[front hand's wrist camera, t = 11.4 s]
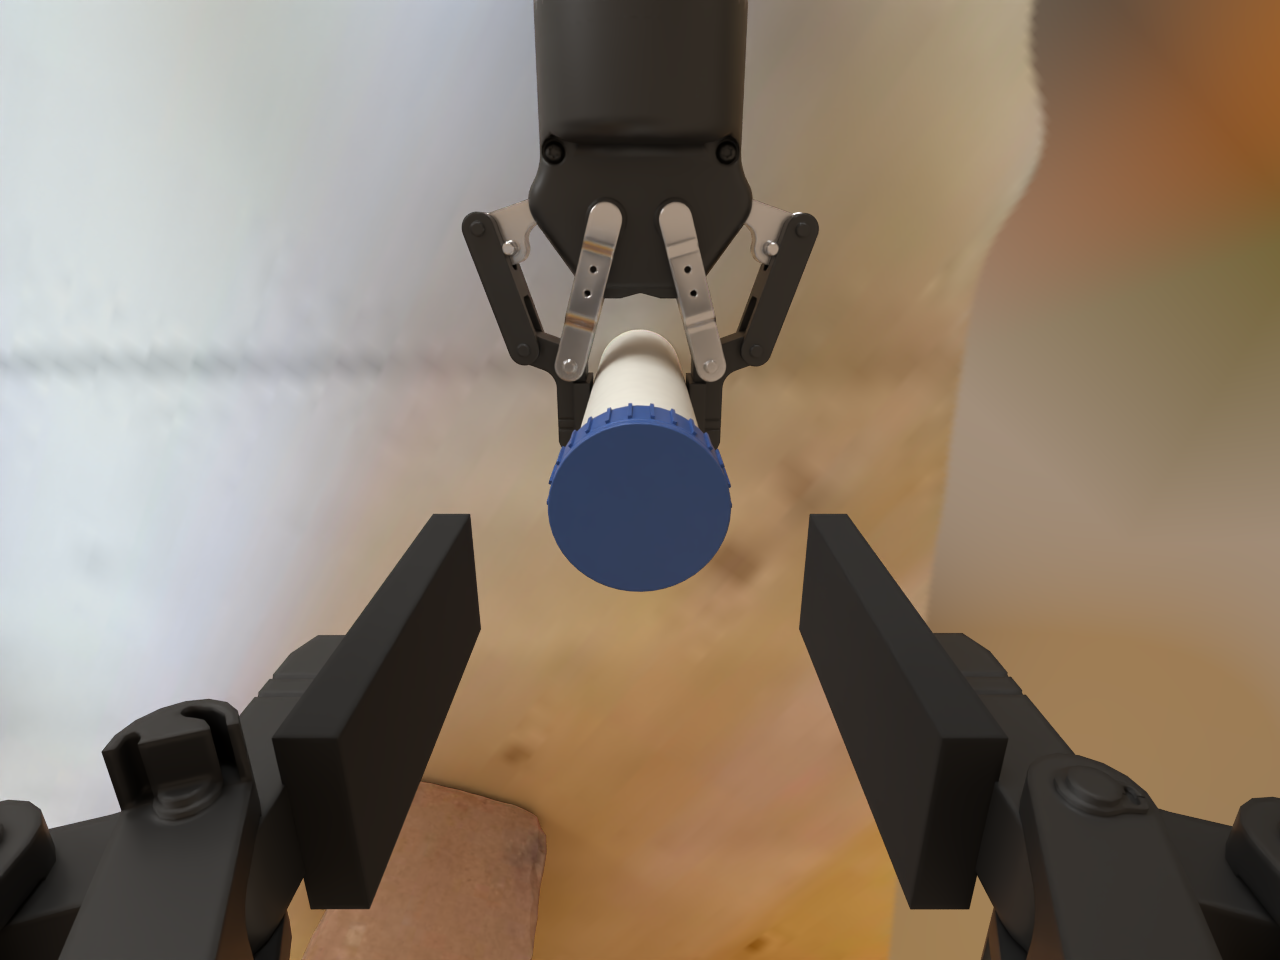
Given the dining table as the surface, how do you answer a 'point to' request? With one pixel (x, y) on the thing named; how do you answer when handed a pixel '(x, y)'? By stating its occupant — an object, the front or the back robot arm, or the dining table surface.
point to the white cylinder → (639, 376)
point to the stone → (447, 887)
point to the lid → (639, 498)
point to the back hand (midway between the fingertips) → (640, 459)
